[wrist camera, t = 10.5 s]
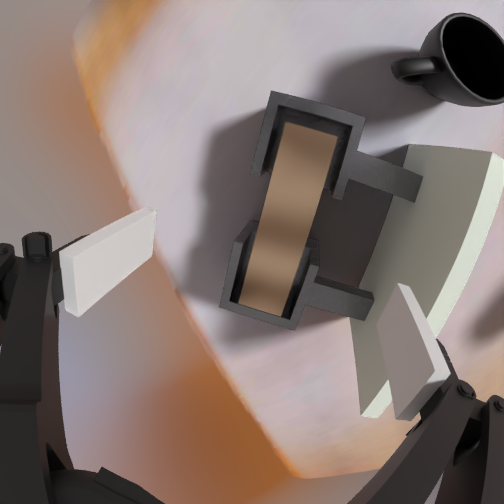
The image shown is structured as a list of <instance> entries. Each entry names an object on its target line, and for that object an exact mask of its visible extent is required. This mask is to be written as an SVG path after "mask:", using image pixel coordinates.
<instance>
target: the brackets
mask: <svg viewBox="0 0 504 504" xmlns="http://www.w3.org/2000/svg"><path fill="white" fill-rule="evenodd" d="M365 119H366V117H363V116H360V115H357V114H354V113H351V112H348V111H345V110H342V109H338V108H335V107H332V106H329V105H325V104H322V103H318V102H315V101H311V100H307V99H304V98H300V97H296V96H292V95H288V94H283V93H279V92H275V91H271V93H270V97H269V101H268V105H267V109H266V112H265V116H264V120H263V124H262V128H261V132H260V136H259V140H258V144H257V148H256V152H255V156H254V160H253V164H252V168H251V173H250V174H253V175H257V176H261V175H262V174H264V173H265V172H271V173H272V172H273V168H274V165H275V161H276V157H277V153H278V149H279V145H280V142H281V138H282V134H283V130H284V126H285V122H288V123H292V124H296V125H299V126H303V127H307V128H310V129H314V130H317V131H320V132H324V133H327V134H330V135H334V136H337V137H338V138H337V142H336V145H335V149H334V152H333V156H332V159H331V163H330V166H329V170H328V173H327V177H326V180H325V183H324V187H323V188H326V189H329V190H330V192H331V195H332V198H335V199H339V200H342V198H343V195H344V192H345V189H346V185H347V182H348V179H351V180H354V181H357V182H359V183H362V184H365V185H368V186H371V187H374V188H376V189H379V190H382V191H385V192H387V193H390V194H393V195H395V196H398V197H401V198H403V199H406V200H408V201H411V202H413V203H415V201H416V198H417V195H418V192H419V189H420V186H421V183H422V179H423V176H421V175H419V174H416V173H414V172H412V171H409V170H407V169H404V168H402V167H399V166H397V165H394V164H392V163H389V162H386V161H384V160H381V159H378V158H376V157H373V156H370V155H367V154H365V153H362V152H359V151H357V148H358V145H359V141H360V137H361V134H362V130H363V126H364V122H365ZM258 226H259V223H257V222H254V221H251V220H250V222H249V223H248V224H247V225H246V227H245V228H244V229H243V231H242V232H241V233H240V234H239V236H238V237H237V238H236V240H235V241H234V244H233V248H232V253H231V257H230V262H229V266H228V270H227V275H226V279H225V284H224V288H223V293H222V297H221V302H220V306H219V307H220V308H223V309H227V310H230V311H233V312H236V313H239V314H242V315H245V316H248V317H252V318H255V319H258V320H261V321H265V322H268V323H271V324H274V325H278V326H281V327H285V328H288V329H291V330H295V329H296V326H297V324H298V321H299V319H300V316H301V314H302V311H303V309H304V306H305V305H308V306H312V307H315V308H319V309H322V310H326V311H329V312H333V313H336V314H340V315H343V316H347V317H351V318H354V319H358V320H362V321H365V319H366V317H367V315H368V313H369V311H370V309H371V307H372V305H373V303H374V301H375V300H374V297H373V294H372V292H369V291H365V290H362V289H359V288H355V287H352V286H349V285H345V284H342V283H339V282H335V281H332V280H329V279H325V278H322V277H319V276H316V274H317V271H318V269H319V245H318V241H317V240H314V239H311V238H307V241H306V244H305V247H304V250H303V254H302V257H301V260H300V263H299V266H298V269H297V271H296V274H295V277H294V280H293V283H292V286H291V289H290V292H289V295H288V298H287V300H286V303H285V306H284V309H283V312H282V315H281V317H280V316H277V315H273V314H270V313H267V312H264V311H260V310H257V309H254V308H251V307H248V306H244V305H241V304H238V303H239V299H240V295H241V291H242V287H243V283H244V280H245V276H246V272H247V268H248V264H249V260H250V257H251V253H252V249H253V245H254V241H255V237H256V234H257V230H258Z"/></svg>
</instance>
